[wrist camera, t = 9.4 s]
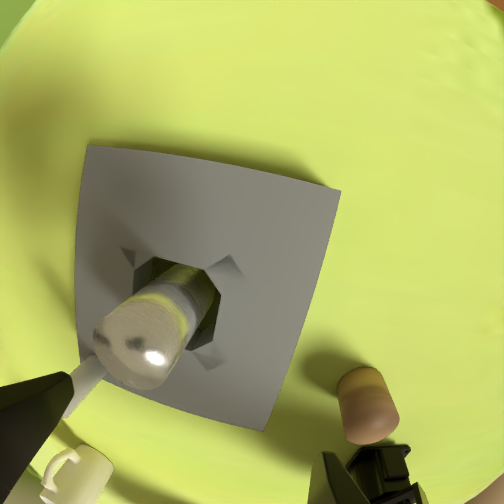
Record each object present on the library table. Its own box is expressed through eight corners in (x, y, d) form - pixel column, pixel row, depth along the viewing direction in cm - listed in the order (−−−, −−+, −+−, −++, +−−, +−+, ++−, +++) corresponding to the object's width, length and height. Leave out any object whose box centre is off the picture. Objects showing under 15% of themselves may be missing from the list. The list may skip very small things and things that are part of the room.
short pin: (370, 404, 21) (383, 445, 16) (329, 400, 21) (336, 443, 16) (390, 369, 20) (409, 408, 15) (347, 363, 20) (359, 405, 15)
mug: (122, 476, 29) (92, 531, 17) (88, 464, 29) (56, 512, 18) (96, 435, 27) (52, 496, 15) (61, 422, 27) (17, 473, 16)
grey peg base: (266, 407, 22) (255, 492, 13) (98, 352, 23) (41, 407, 14) (332, 190, 18) (375, 193, 9) (111, 148, 18) (22, 136, 10)
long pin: (210, 321, 21) (166, 400, 12) (160, 306, 21) (95, 371, 12) (220, 270, 20) (172, 332, 11) (166, 256, 20) (91, 303, 11)
